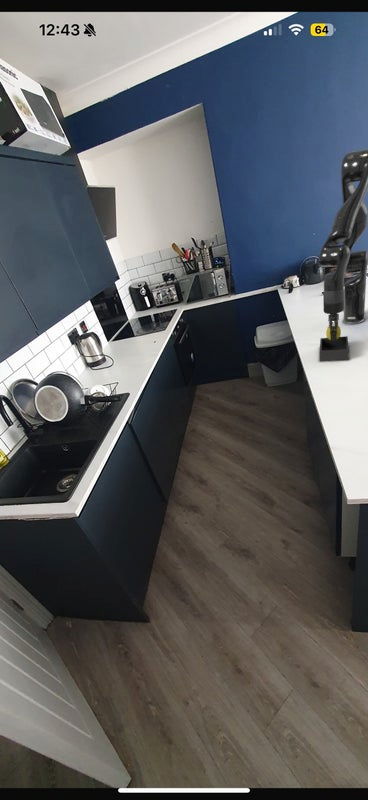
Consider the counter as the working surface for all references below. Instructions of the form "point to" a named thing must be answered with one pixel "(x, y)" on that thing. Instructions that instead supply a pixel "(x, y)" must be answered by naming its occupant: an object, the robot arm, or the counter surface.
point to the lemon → (333, 330)
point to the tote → (334, 349)
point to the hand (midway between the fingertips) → (333, 338)
